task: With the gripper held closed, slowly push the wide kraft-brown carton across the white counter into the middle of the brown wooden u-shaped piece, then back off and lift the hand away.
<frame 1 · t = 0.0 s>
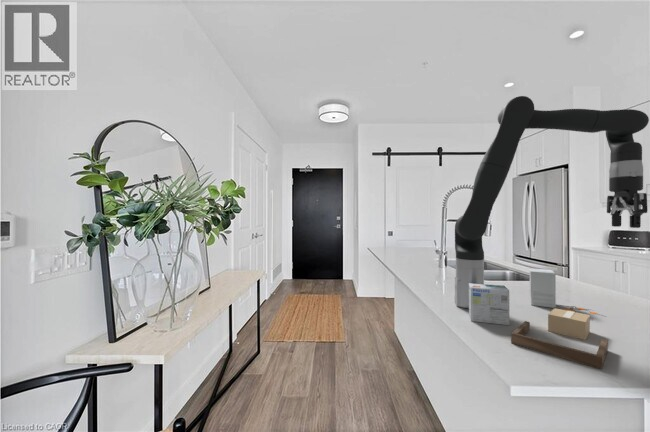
hand: (625, 227, 92), 29 cm above the counter, tool pointing down, fingers open, 8 cm apart
light bulb box: (487, 320, 91), on the counter
kraft carton: (568, 332, 82), on the counter
key chain: (580, 311, 101), on the counter
supplement box: (541, 304, 108), on the counter
brown wooden u-shaped piece: (558, 346, 73), on the counter
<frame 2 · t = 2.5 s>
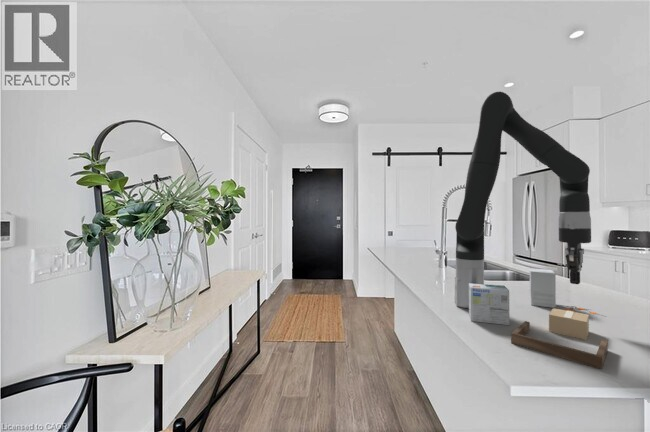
hand: (575, 283, 88), 12 cm above the counter, tool pointing down, fingers closed
nothing on the counter moved.
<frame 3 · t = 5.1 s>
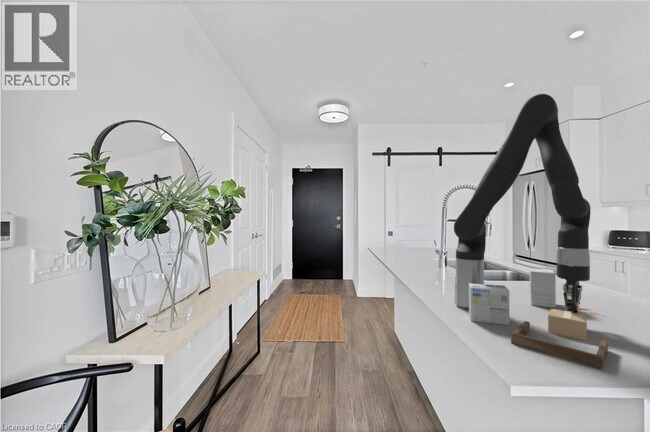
hand: (572, 320, 86), 2 cm above the counter, tool pointing down, fingers closed
kraft carton: (567, 332, 82), on the counter, touching gripper
everything else where it was.
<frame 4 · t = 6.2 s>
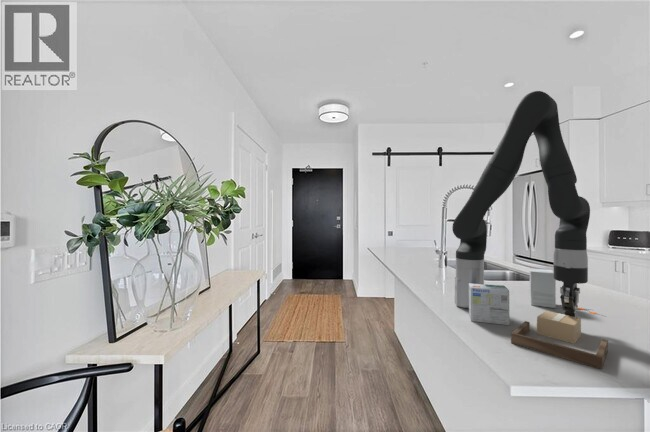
hand: (569, 324, 83), 2 cm above the counter, tool pointing down, fingers closed
kraft carton: (558, 335, 80), on the counter
everything else where it was.
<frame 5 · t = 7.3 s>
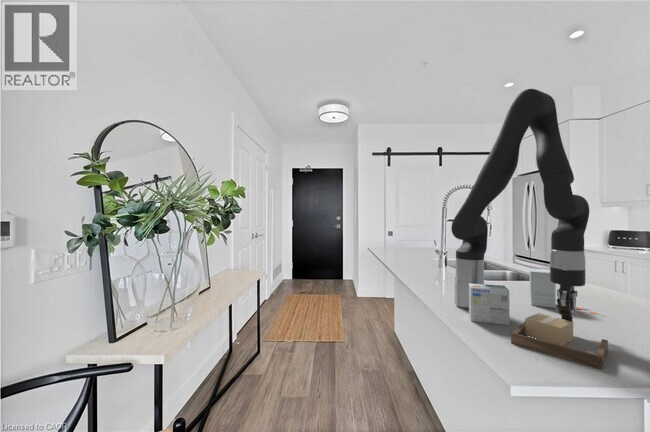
hand: (566, 328, 80), 2 cm above the counter, tool pointing down, fingers closed
kraft carton: (548, 338, 78), on the counter, touching gripper
everything else where it was.
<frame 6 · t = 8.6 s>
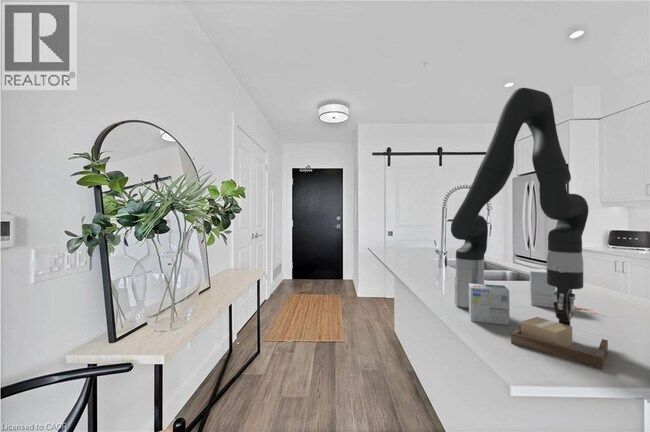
hand: (564, 333, 77), 2 cm above the counter, tool pointing down, fingers closed
kraft carton: (545, 343, 75), on the counter
everything else where it was.
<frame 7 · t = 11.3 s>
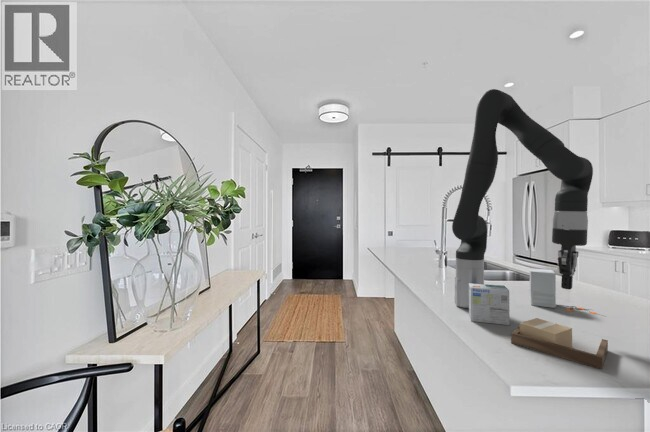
hand: (566, 288, 82), 12 cm above the counter, tool pointing down, fingers closed
kraft carton: (545, 344, 74), on the counter
everything else where it was.
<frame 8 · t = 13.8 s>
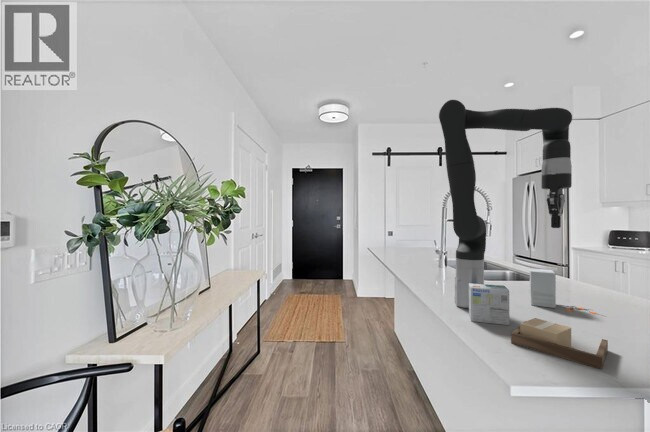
hand: (555, 227, 93), 29 cm above the counter, tool pointing down, fingers closed
nothing on the counter moved.
at the end: kraft carton 2.7 cm from the brown wooden u-shaped piece (horizontally); kraft carton tilted 0°; kraft carton moved 15.2 cm from its start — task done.
